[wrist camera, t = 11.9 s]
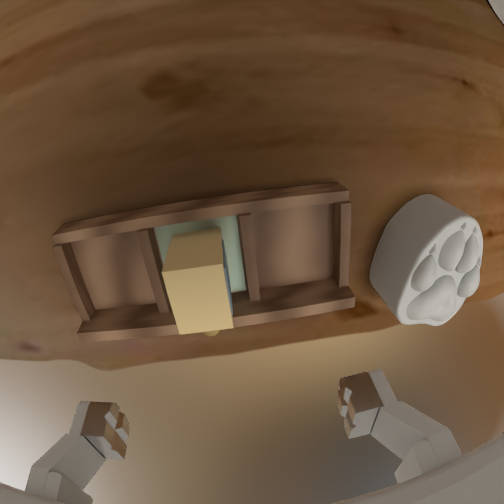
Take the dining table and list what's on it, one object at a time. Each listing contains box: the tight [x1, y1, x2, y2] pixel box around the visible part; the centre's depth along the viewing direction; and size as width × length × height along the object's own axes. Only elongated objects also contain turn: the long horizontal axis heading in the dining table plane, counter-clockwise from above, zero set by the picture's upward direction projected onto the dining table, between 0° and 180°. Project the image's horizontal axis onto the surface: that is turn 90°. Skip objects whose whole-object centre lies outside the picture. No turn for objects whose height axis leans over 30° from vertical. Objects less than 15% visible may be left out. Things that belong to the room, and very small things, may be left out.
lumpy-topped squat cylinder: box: [370, 194, 483, 326], centre depth 30 cm, size 10×13×9 cm
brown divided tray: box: [52, 182, 355, 342], centre depth 29 cm, size 28×11×6 cm, turn 96°
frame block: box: [162, 227, 234, 334], centre depth 27 cm, size 5×6×7 cm
